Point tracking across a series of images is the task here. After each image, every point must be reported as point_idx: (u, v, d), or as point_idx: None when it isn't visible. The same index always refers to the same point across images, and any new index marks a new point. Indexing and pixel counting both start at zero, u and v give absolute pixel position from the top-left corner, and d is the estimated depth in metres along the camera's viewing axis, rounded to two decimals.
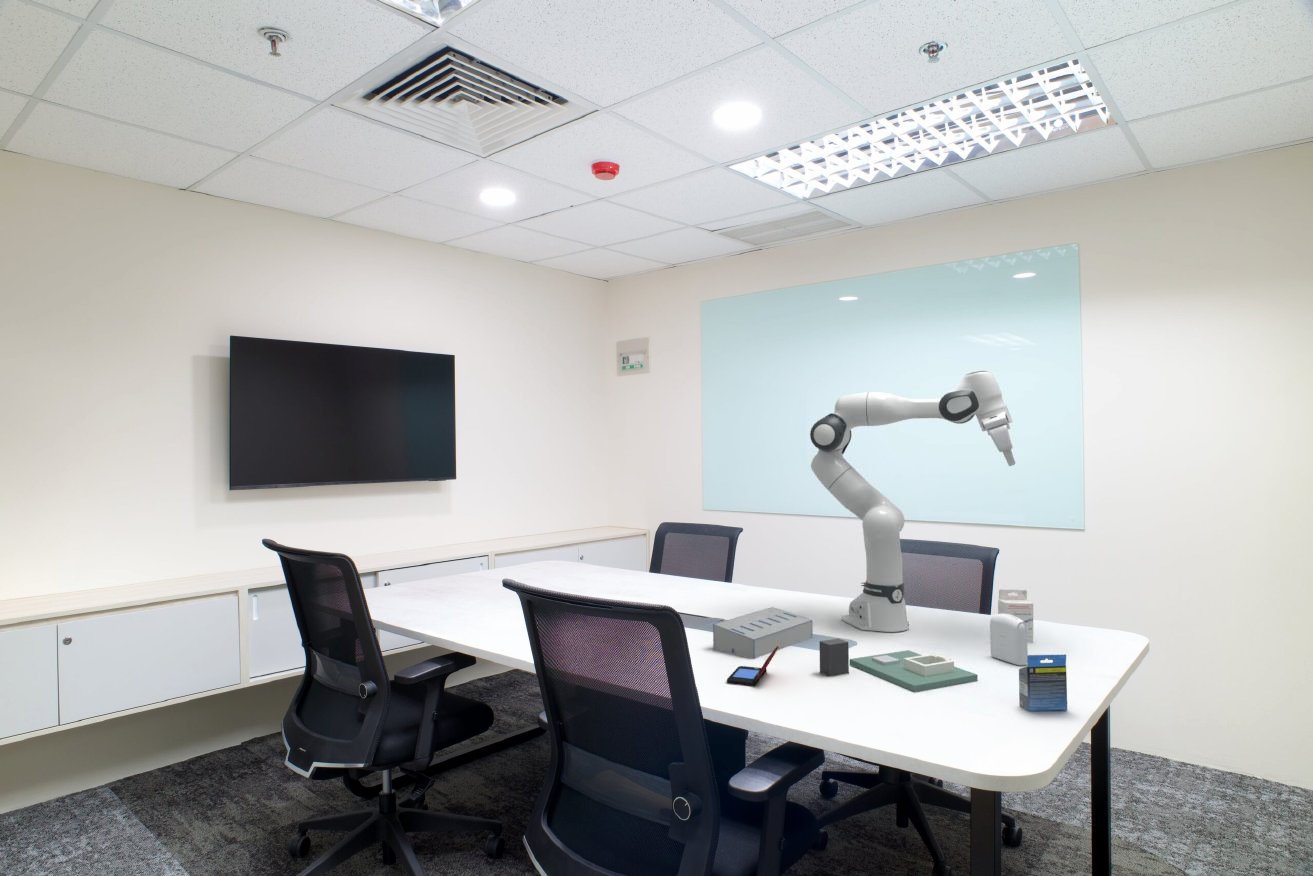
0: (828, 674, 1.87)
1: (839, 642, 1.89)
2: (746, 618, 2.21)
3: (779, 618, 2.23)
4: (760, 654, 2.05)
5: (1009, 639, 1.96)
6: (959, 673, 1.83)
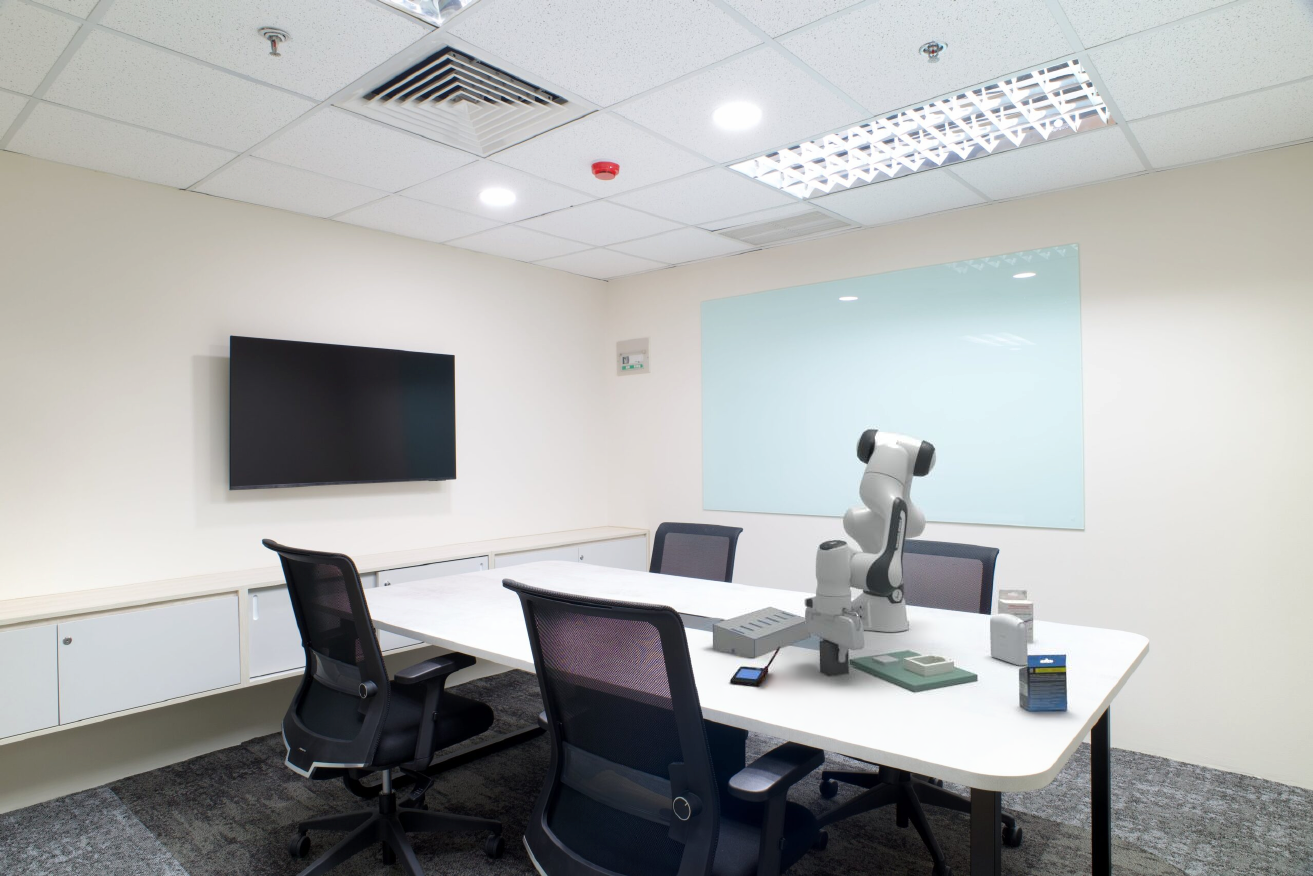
0: (828, 674, 1.87)
1: None
2: (745, 617, 2.21)
3: (777, 618, 2.24)
4: (760, 654, 2.05)
5: (1009, 639, 1.96)
6: (959, 673, 1.83)
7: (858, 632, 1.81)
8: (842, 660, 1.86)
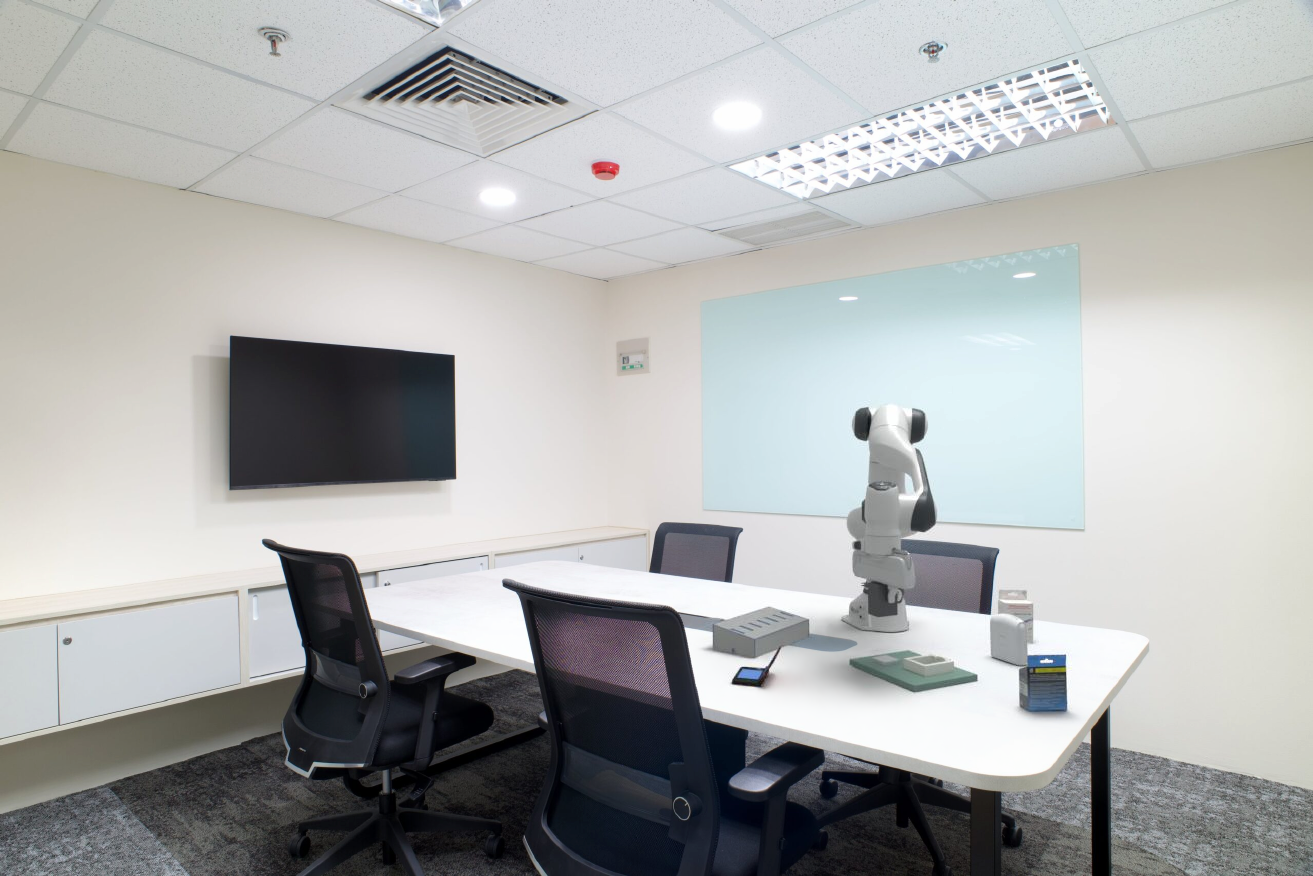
0: (877, 615, 1.86)
1: None
2: (744, 617, 2.22)
3: (777, 617, 2.24)
4: (760, 653, 2.05)
5: (1009, 639, 1.96)
6: (959, 673, 1.83)
7: (909, 571, 1.79)
8: (892, 601, 1.85)
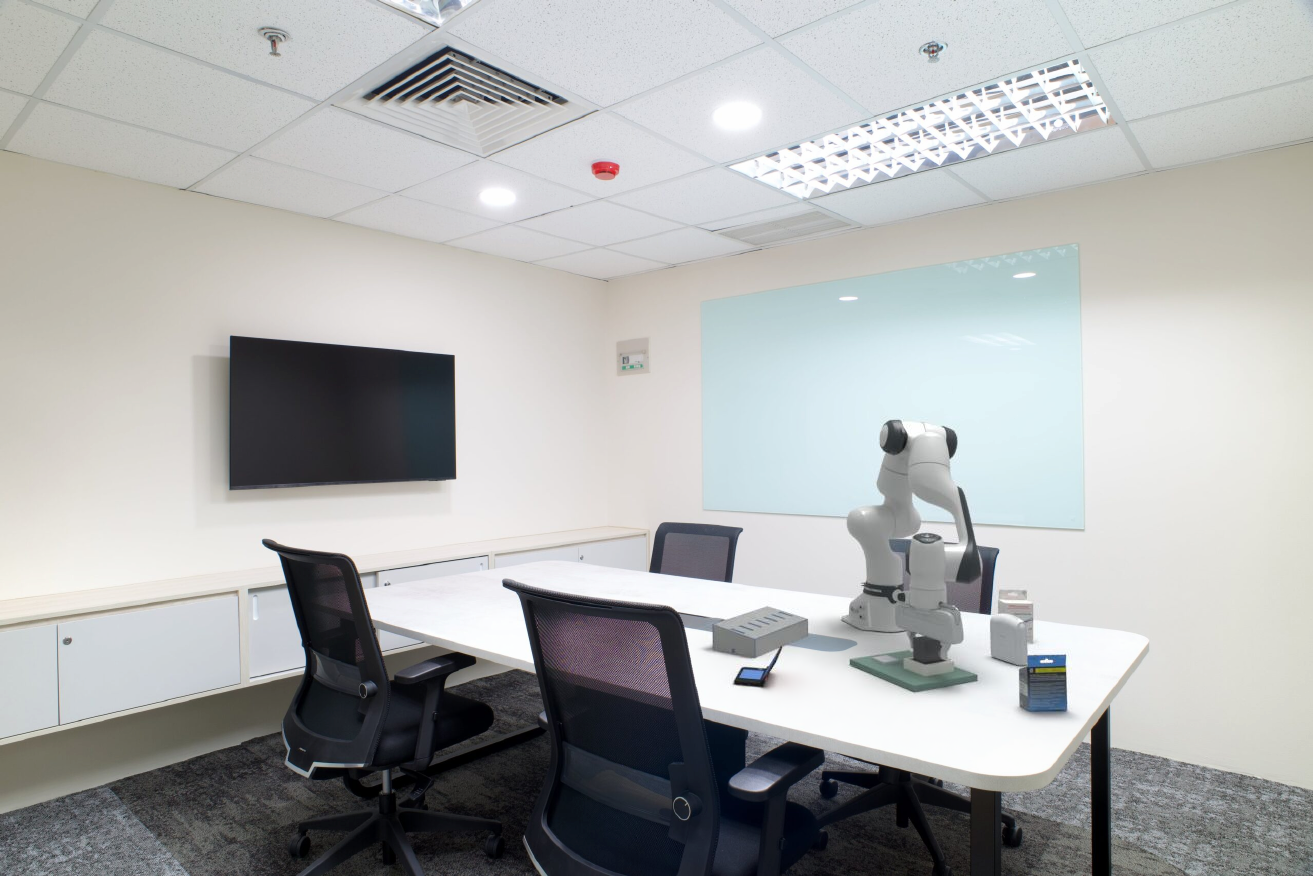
0: None
1: None
2: (744, 617, 2.22)
3: (775, 617, 2.24)
4: (760, 653, 2.06)
5: (1009, 639, 1.96)
6: (959, 673, 1.83)
7: (957, 626, 1.78)
8: (944, 657, 1.82)
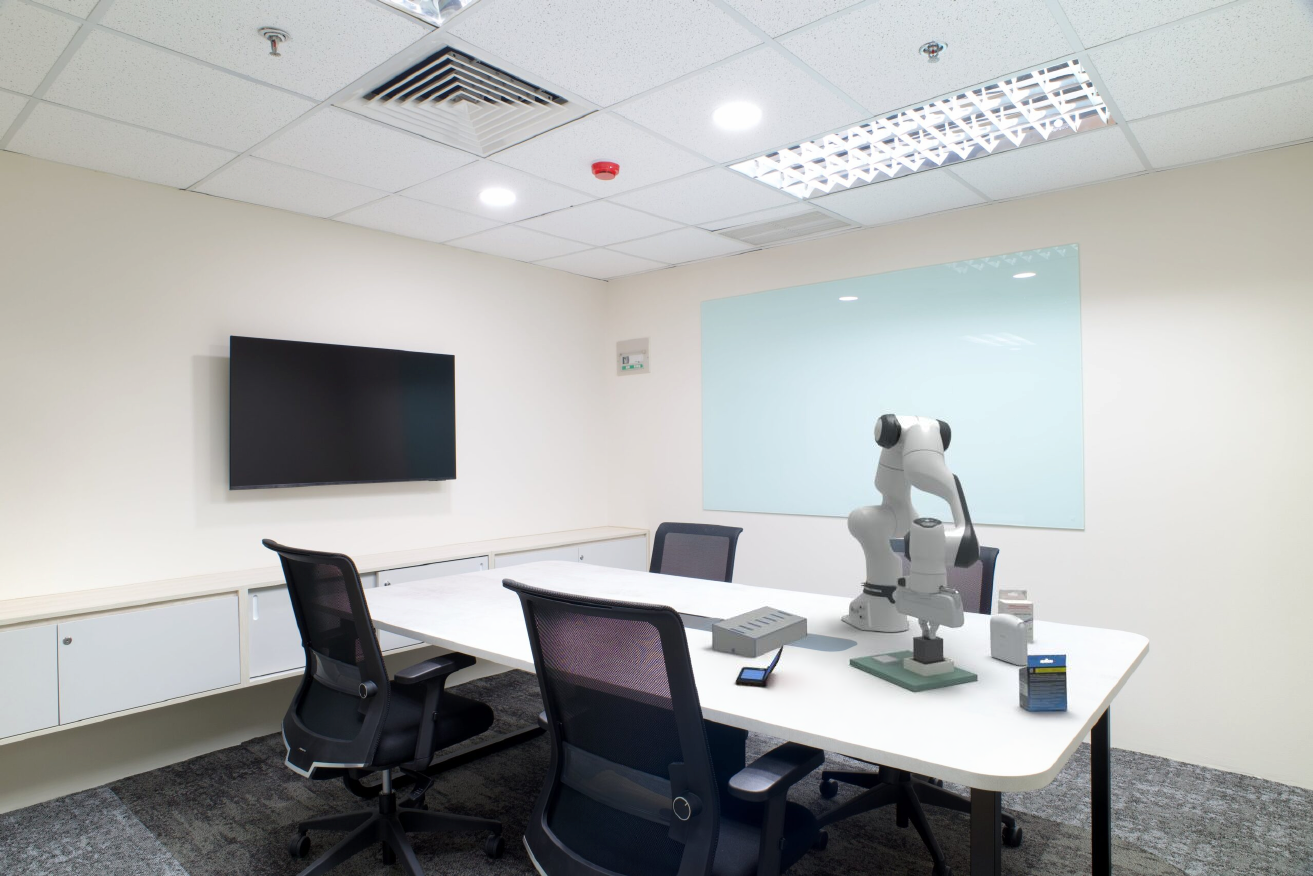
0: None
1: None
2: (743, 617, 2.22)
3: (775, 617, 2.25)
4: (760, 653, 2.06)
5: (1009, 639, 1.96)
6: (959, 673, 1.83)
7: (958, 610, 1.78)
8: (933, 637, 1.85)
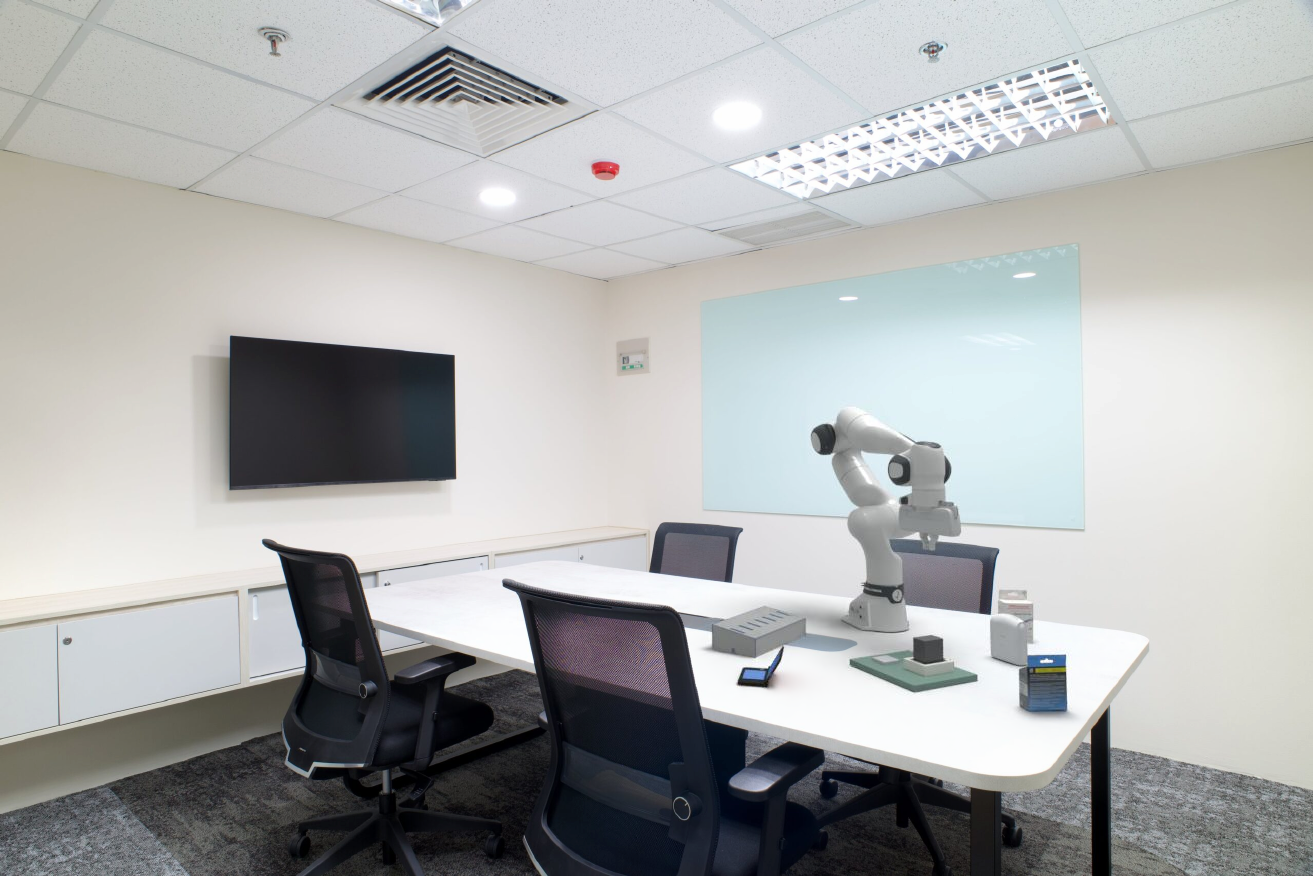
0: None
1: (934, 638, 1.86)
2: (742, 617, 2.22)
3: (774, 617, 2.25)
4: (760, 653, 2.06)
5: (1009, 639, 1.96)
6: (959, 673, 1.83)
7: (955, 520, 1.96)
8: (932, 548, 2.04)
